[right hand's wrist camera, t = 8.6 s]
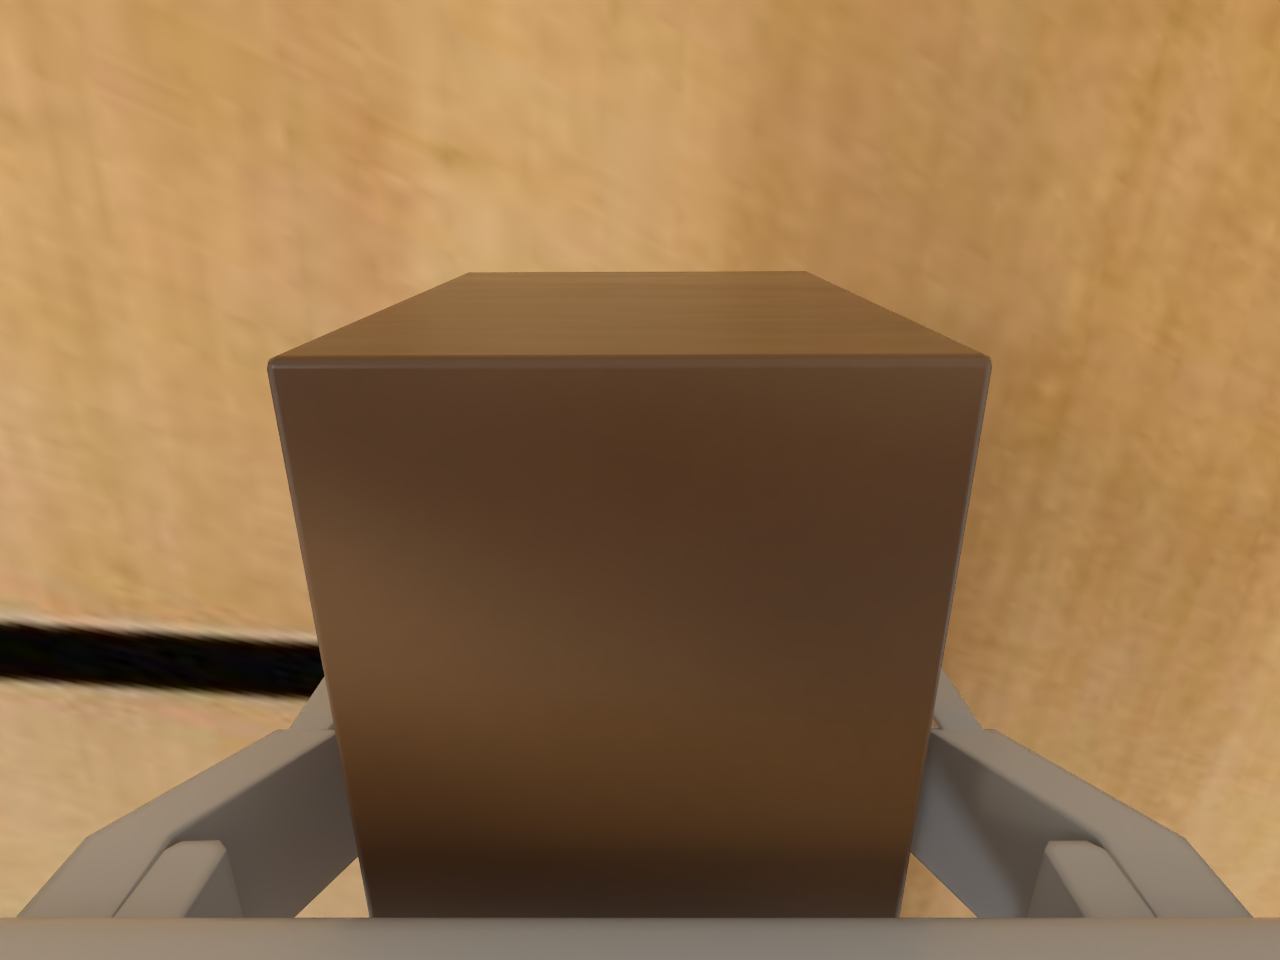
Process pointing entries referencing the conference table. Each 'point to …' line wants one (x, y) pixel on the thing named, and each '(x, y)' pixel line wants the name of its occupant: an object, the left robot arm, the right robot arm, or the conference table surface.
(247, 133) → the conference table surface
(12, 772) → the conference table surface
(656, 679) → the beam
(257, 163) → the conference table surface
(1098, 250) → the conference table surface
